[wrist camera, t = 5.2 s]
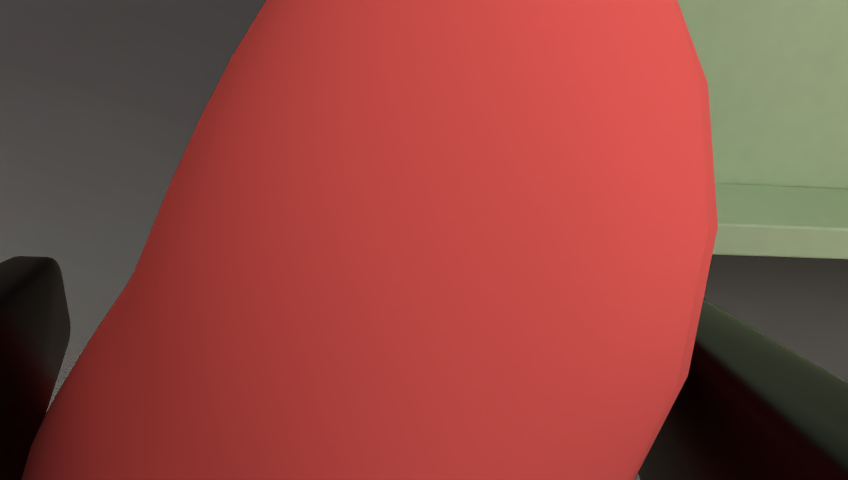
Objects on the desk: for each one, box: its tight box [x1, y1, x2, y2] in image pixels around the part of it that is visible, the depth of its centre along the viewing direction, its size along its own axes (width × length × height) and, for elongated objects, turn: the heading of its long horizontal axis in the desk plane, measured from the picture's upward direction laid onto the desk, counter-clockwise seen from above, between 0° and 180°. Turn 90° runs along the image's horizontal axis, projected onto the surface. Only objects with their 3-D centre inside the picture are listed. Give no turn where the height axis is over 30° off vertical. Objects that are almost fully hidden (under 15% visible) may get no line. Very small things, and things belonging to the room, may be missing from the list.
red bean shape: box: [21, 0, 718, 480], centre depth 8 cm, size 5×9×6 cm, turn 136°
